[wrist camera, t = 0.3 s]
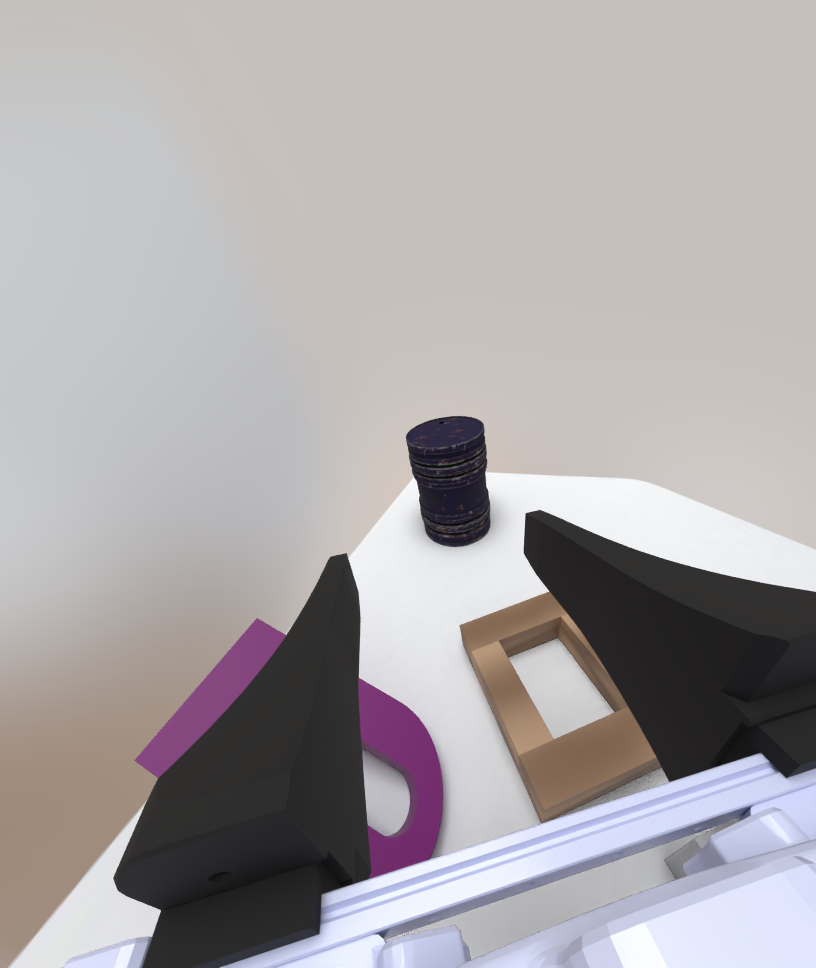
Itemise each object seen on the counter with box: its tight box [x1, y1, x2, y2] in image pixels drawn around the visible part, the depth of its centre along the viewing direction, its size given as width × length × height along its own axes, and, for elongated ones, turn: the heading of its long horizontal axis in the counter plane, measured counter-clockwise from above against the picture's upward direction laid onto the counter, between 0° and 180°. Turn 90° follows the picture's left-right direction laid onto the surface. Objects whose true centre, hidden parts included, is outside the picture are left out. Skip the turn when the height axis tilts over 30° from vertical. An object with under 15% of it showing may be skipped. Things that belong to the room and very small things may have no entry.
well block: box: [460, 592, 661, 823], centre depth 23 cm, size 12×11×3 cm
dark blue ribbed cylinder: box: [406, 416, 490, 547], centre depth 40 cm, size 10×10×15 cm
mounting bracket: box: [135, 619, 443, 879], centre depth 22 cm, size 9×8×18 cm
